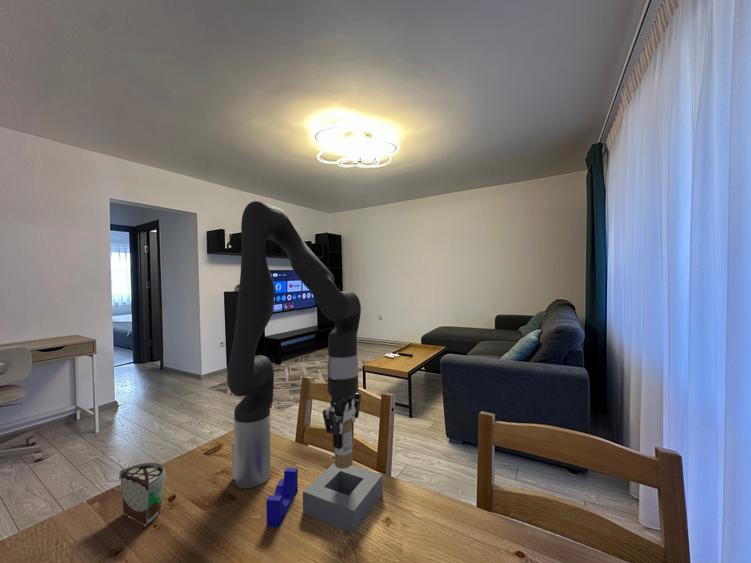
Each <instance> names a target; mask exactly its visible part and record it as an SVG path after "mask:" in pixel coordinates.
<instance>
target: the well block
mask: <svg viewBox="0 0 751 563" xmlns="http://www.w3.org/2000/svg"><path fill="white" fill-rule="evenodd" d="M383 481H384V478H383V474H381V473H379V472H376V471H373V470H369V469H366V468H362V467H359V466H356V465H353V464H352V465H351V466H350V467H348V468H345V469H341V468H337V467H336V466H335V464H334V462H333V463H332V464H331V465H330V466H329V467H328V468H327V469H325V471H323V472H322V473H321V474H320V475H318V477H317V478H316V479H315V480H313V482H312V483H310V484H309V485H308V486H307V487H306V488H304V490H302V513H303V514H305V515H307V516H309V517H311V518H314V519H317V520H320V522H321V521H322V522H325V523H326V524H329V525H331V526H333V527H336V528H339V529H341V530H342V531H346V532H348V533H350V534H353V535H355V534H356V533H357V531H358V530H359V529H360V527H361V526H362V524H363V523H364V521H365V520H366V518H367V517H368V515H369V514H370V513H371V512H372V510H373V508H374V507H376V505H377V504H378V501H380V498H381V497H382V496H383V493H384V492H383V491H384V490H383V486H384V485H383Z"/></svg>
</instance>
